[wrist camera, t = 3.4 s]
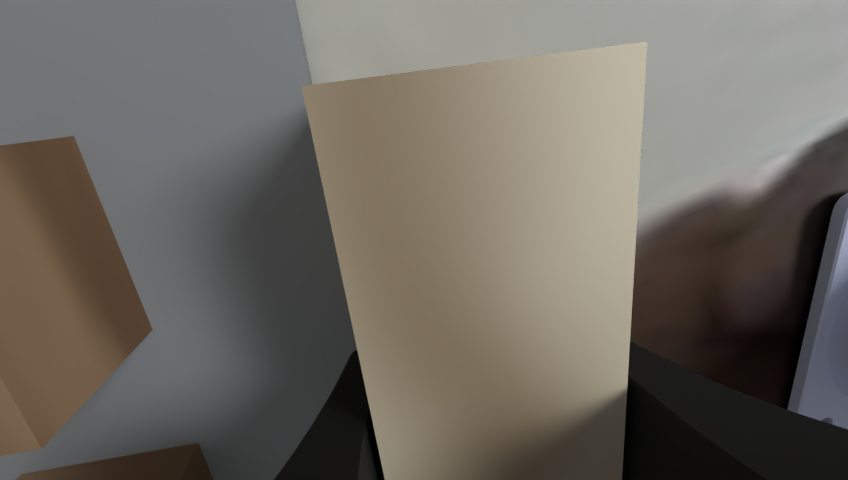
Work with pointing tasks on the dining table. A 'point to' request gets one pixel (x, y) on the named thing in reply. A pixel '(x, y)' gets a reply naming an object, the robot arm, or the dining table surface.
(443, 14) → the dining table surface
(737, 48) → the dining table surface
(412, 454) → the plank
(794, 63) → the dining table surface
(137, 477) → the block
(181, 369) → the mat
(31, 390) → the block
